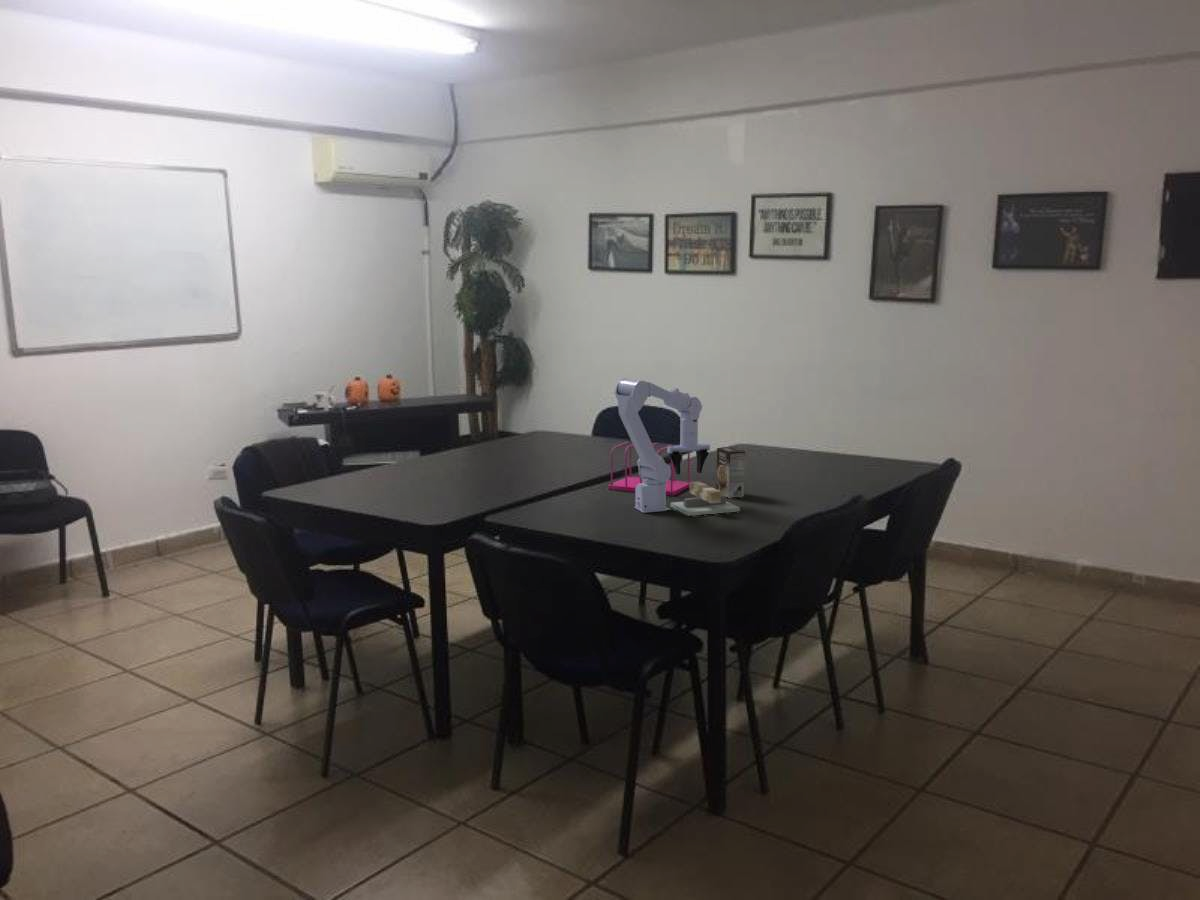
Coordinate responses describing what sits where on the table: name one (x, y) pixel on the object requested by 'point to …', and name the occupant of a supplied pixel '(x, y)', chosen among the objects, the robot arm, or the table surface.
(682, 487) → the file sorter
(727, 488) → the coffee box
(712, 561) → the table surface
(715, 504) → the ridge stand
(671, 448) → the robot arm
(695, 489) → the tan wooden block
